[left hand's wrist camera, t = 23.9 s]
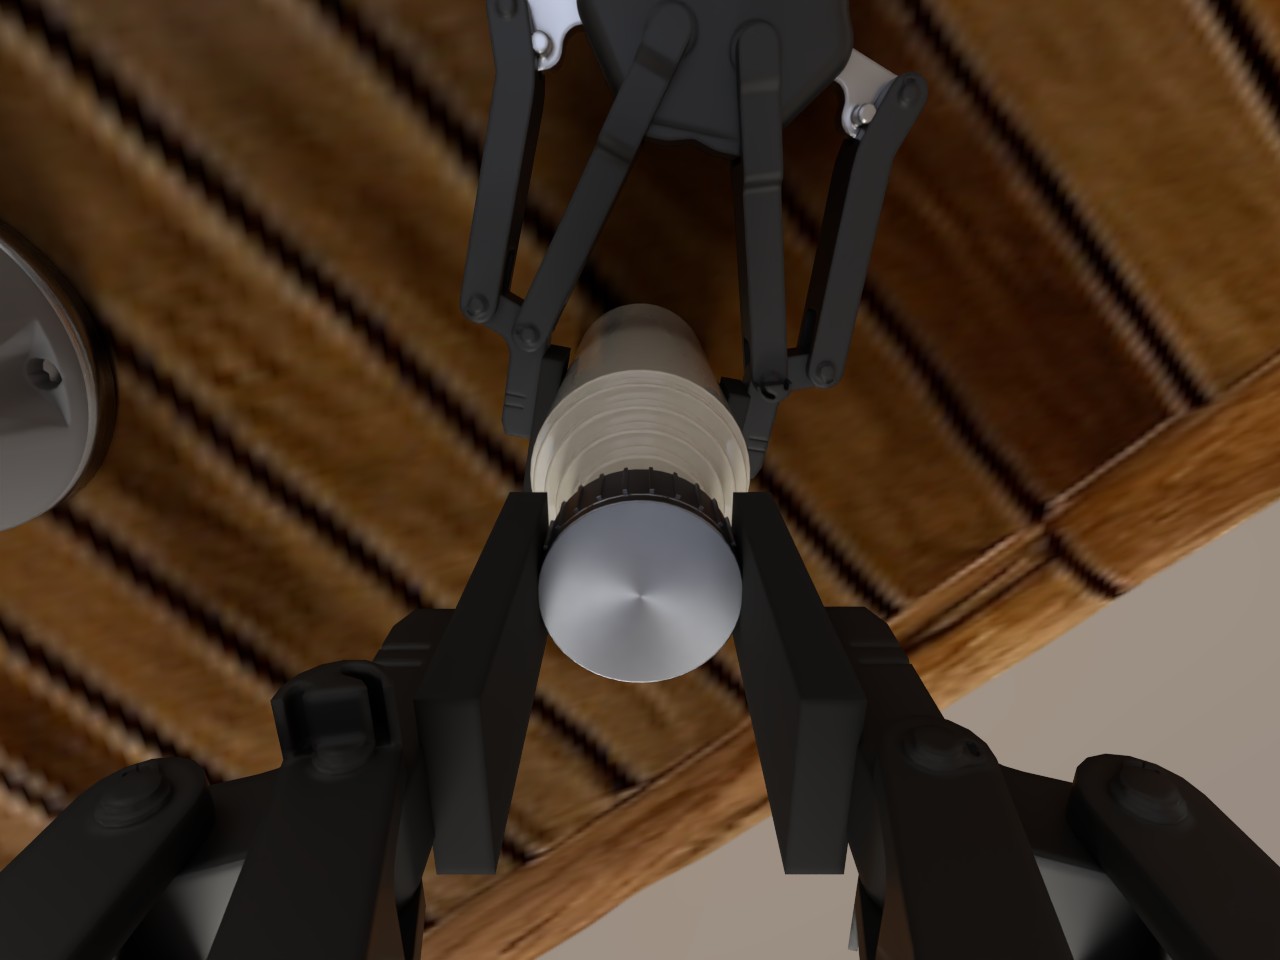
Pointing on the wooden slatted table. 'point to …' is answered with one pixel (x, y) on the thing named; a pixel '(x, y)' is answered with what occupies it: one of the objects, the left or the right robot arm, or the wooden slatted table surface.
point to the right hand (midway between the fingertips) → (615, 530)
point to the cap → (640, 576)
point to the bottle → (640, 411)
